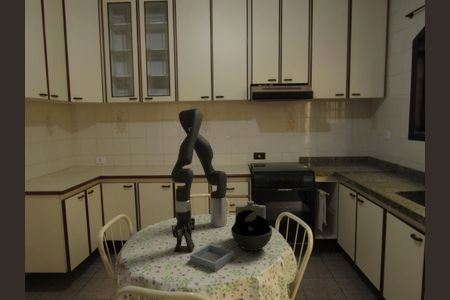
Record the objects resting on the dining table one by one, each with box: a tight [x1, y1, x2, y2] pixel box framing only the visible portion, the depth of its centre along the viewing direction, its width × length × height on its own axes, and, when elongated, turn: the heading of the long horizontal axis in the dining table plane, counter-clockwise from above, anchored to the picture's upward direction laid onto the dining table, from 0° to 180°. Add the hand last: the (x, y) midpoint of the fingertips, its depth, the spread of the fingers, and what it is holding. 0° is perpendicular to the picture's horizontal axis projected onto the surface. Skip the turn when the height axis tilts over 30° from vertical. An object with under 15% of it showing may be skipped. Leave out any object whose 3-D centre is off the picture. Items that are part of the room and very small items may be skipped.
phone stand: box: [173, 227, 196, 253], centre depth 136 cm, size 9×6×12 cm, turn 84°
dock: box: [188, 243, 236, 273], centre depth 125 cm, size 15×15×3 cm
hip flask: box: [234, 200, 267, 222], centre depth 148 cm, size 16×4×20 cm, turn 86°
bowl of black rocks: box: [230, 210, 273, 251], centre depth 135 cm, size 20×20×19 cm
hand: (184, 242), depth 136 cm, fingers closed on phone stand, 6 cm apart
